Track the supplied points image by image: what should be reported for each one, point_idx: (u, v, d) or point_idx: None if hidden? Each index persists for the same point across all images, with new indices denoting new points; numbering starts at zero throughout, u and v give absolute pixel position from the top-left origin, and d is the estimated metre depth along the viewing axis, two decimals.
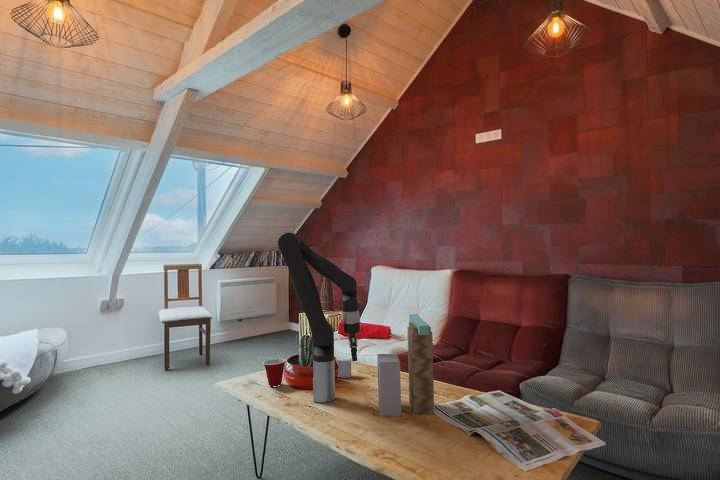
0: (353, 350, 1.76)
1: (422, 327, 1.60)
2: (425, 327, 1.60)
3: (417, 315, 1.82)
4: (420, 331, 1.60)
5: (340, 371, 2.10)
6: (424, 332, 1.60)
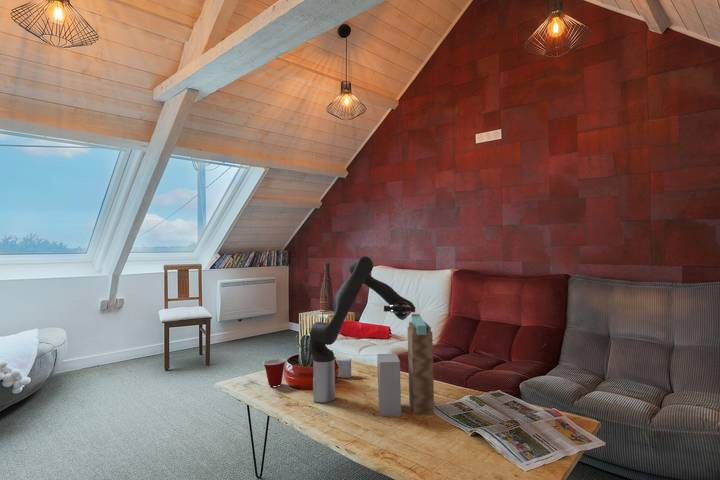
0: (414, 308, 1.87)
1: (420, 327, 1.60)
2: (423, 327, 1.60)
3: (419, 315, 1.83)
4: (418, 331, 1.60)
5: (340, 371, 2.10)
6: (422, 332, 1.60)
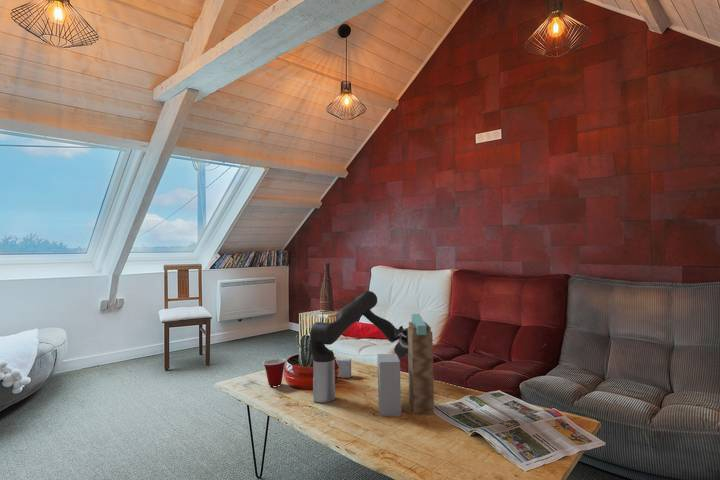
0: None
1: (420, 327, 1.60)
2: (423, 327, 1.60)
3: (419, 315, 1.83)
4: (418, 331, 1.60)
5: (340, 371, 2.10)
6: (422, 332, 1.60)
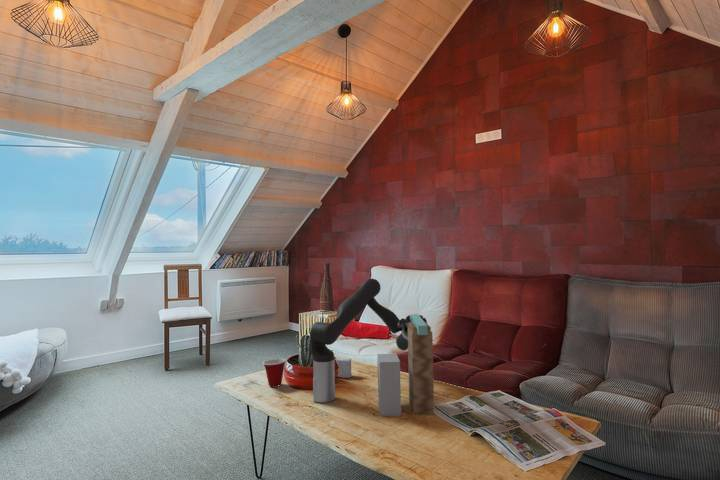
0: (425, 320, 1.85)
1: (421, 327, 1.60)
2: (424, 327, 1.60)
3: (418, 315, 1.83)
4: (419, 331, 1.60)
5: (340, 371, 2.10)
6: (423, 332, 1.60)
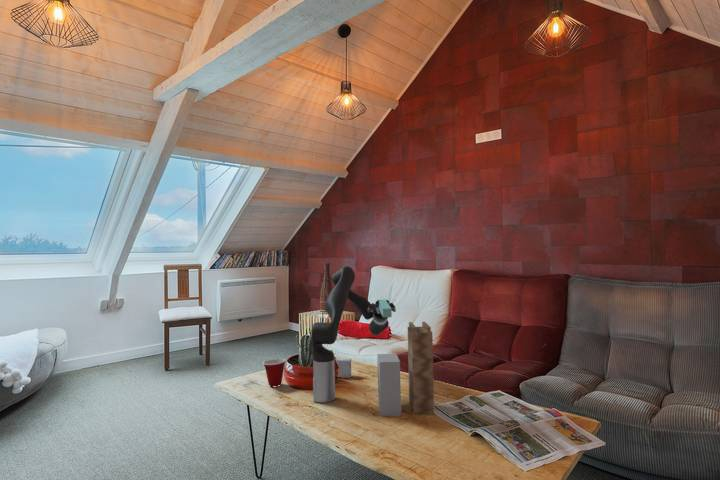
0: (392, 305, 1.94)
1: (385, 310, 1.69)
2: (388, 310, 1.69)
3: (385, 300, 1.92)
4: (383, 313, 1.69)
5: (340, 371, 2.10)
6: (387, 314, 1.69)
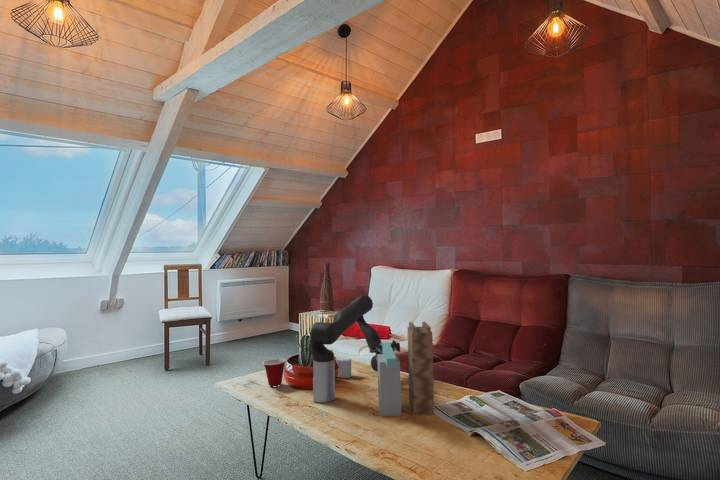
0: (399, 345, 1.81)
1: (390, 360, 1.55)
2: (393, 360, 1.55)
3: (389, 343, 1.78)
4: (388, 364, 1.55)
5: (340, 371, 2.10)
6: (392, 365, 1.55)
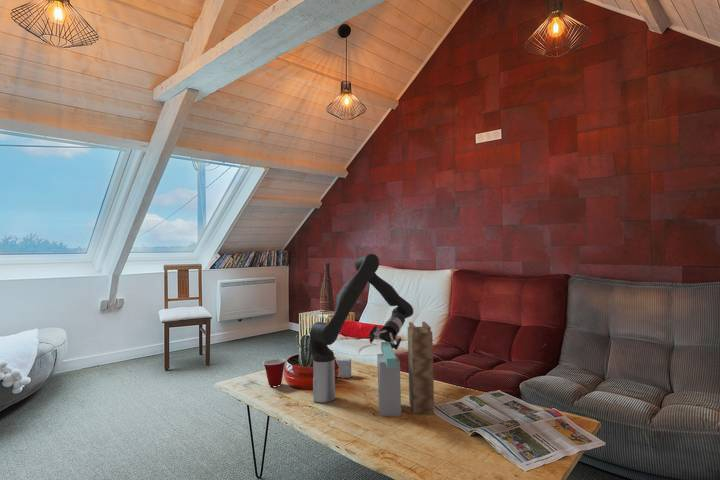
0: (398, 346, 1.87)
1: (390, 360, 1.55)
2: (393, 360, 1.55)
3: (389, 343, 1.78)
4: (388, 364, 1.55)
5: (340, 371, 2.10)
6: (392, 365, 1.55)
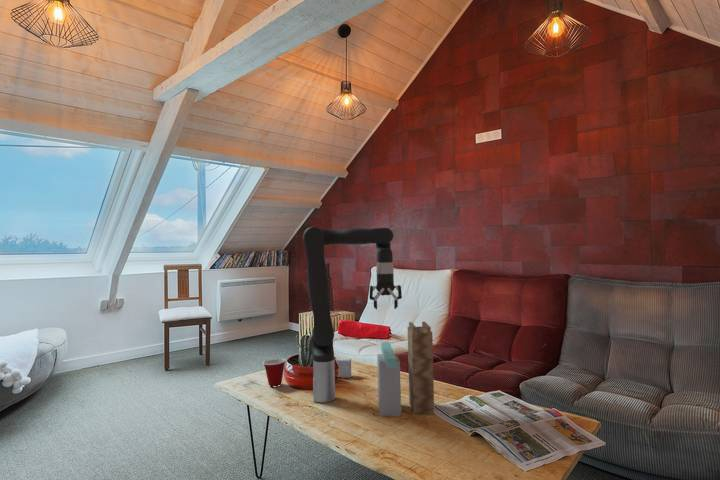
0: None
1: (390, 360, 1.55)
2: (393, 360, 1.55)
3: (389, 343, 1.78)
4: (388, 364, 1.55)
5: (340, 371, 2.10)
6: (392, 365, 1.55)
